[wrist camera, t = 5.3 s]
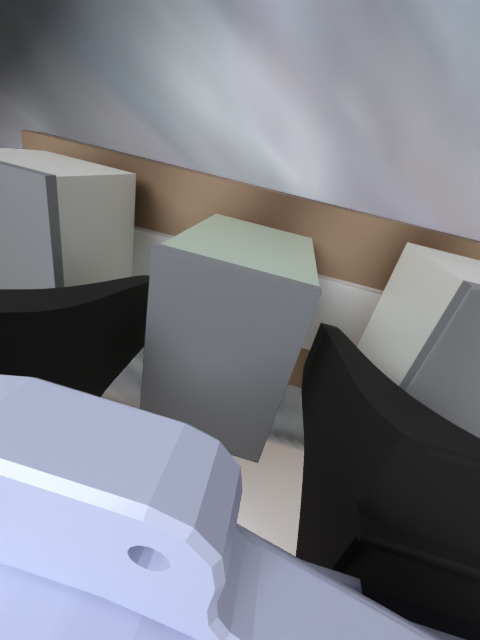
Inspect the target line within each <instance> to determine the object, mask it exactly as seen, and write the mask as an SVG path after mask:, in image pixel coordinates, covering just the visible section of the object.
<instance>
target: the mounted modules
mask: <svg viewBox="0 0 480 640" xmlns="http://www.w3.org/2000/svg"><path fill="white" fill-rule="evenodd" d="M135 190H136V174H135V173H131V172H127V171H124V170H120V169H116V168H112V167H108V166H104V165H100V164H96V163H92V162H88V161H84V160H80V159H76V158H72V157H68V156H64V155H60V154H56V153H52V152H48V151H43V150H28V149H13V148H0V289H47V288H61V287H70V286H78V285H85V284H91V283H98V282H104V281H110V280H115V279H120V278H126V277H132V263H133V239H134V214H135ZM357 348H358V349H359V350H360V351H361V352H362V353H363V354H364V355H365V356H366V357H367V358H368V359H369V360H370V361H371V362H372V363H373V364H374V365H375V366H376V367H377V368H378V369H379V370H381V371H382V372H383V373H384V374H385V375H386V376H387V377H388V378H389V379H391V380H392V381H393V382H394V383H396V384H397V385H398V386H399V387H401V388H402V389H403V390H404V391H406V392H407V393H408V394H410V395H411V396H412V397H414V398H415V399H416V400H418V401H419V402H421V403H422V404H424V405H425V406H427V407H428V408H430V409H431V410H433V411H434V412H436V413H437V414H439V415H440V416H442V417H444V418H445V419H447V420H449V421H450V422H452V423H453V424H455V425H457V426H459V427H460V428H462V429H464V430H466V431H468V432H469V433H471V434H473V435H475V436H476V437H478V438H480V260H476V259H472V258H468V257H464V256H460V255H456V254H452V253H448V252H444V251H440V250H436V249H432V248H428V247H424V246H421V245H417V244H413V243H409V242H407V244H406V246H405V248H404V250H403V252H402V254H401V256H400V258H399V260H398V262H397V264H396V266H395V269H394V271H393V273H392V275H391V277H390V279H389V281H388V283H387V285H386V287H385V289H384V291H383V293H382V296H381V298H380V300H379V302H378V304H377V306H376V308H375V310H374V312H373V314H372V316H371V318H370V321H369V323H368V325H367V327H366V329H365V331H364V333H363V335H362V337H361V339H360V341H359V343H358V345H357Z"/></svg>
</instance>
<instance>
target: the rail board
mask: <svg viewBox="0 0 480 640" xmlns="http://www.w3.org/2000/svg"><path fill="white" fill-rule="evenodd" d="M21 131H22V139H23V148H24V149H28V150H43V151H48V152H52V153H56V154H60V155H64V156H68V157H72V158H76V159H80V160H84V161H88V162H92V163H96V164H100V165H104V166H108V167H112V168H116V169H120V170H124V171H127V172H131V173H135V174H136V190H135V214H134V239H133V263H132V276H139V275H149V276H150V263H151V250H152V247H153V246H155V245H157V244H162V243H163V242H165V241H167V240H169V239H171V238H173V237H174V236H176V235H178V234H180V233H182V232H184V231H185V230H187V229H189V228H191V227H193V226H195V225H196V224H198V223H200V222H202V221H204V220H206V219H207V218H209V217H211V216H213V215H215V214H220V215H224V216H228V217H232V218H236V219H239V220H243V221H247V222H251V223H255V224H259V225H263V226H267V227H270V228H274V229H278V230H282V231H286V232H290V233H294V234H297V235H301V236H305V237H309V238H312V242H313V248H314V254H315V261H316V267H317V273H318V280H319V286H320V287H321V291H322V294H321V297H320V299H319V302H318V305H317V307H316V310H315V313H314V315H313V318H312V321H311V323H310V326H309V329H308V331H307V334H306V337H305V339H304V342H303V345H302V347H301V350H300V353H299V355H298V358H297V361H296V363H295V366H294V368H293V371H292V374H291V376H290V379H289V382H288V384H290V385H294V386H297V387H301V388H302V377H303V367H304V364H305V361H306V359H307V356H308V354H309V351H310V349H311V346H312V344H313V341H314V339H315V336H316V333H317V331H318V328H319V326H320V323H324V324H328V325H332V326H335V327H338V328H339V329H340V330H341V331H342V332H343V333H344V334H345V335H346V336H347V337H348V338H349V339H350V340H351V341H352V342H353V343H354V344H355V345H356V347H357V345H358V343H359V341H360V339H361V337H362V335H363V333H364V331H365V329H366V327H367V325H368V323H369V321H370V318H371V316H372V314H373V312H374V310H375V308H376V306H377V304H378V302H379V300H380V298H381V296H382V293H383V291H384V289H385V287H386V285H387V283H388V281H389V279H390V277H391V275H392V273H393V271H394V269H395V266H396V264H397V262H398V260H399V258H400V256H401V254H402V252H403V250H404V248H405V246H406V244H407V242H409V243H413V244H417V245H421V246H424V247H428V248H432V249H436V250H440V251H444V252H448V253H452V254H456V255H460V256H464V257H468V258H472V259H476V260H480V241H476V240H472V239H468V238H464V237H460V236H456V235H452V234H448V233H444V232H440V231H436V230H432V229H428V228H424V227H420V226H416V225H412V224H408V223H404V222H400V221H396V220H392V219H388V218H384V217H380V216H376V215H372V214H368V213H363V212H359V211H355V210H351V209H347V208H343V207H339V206H335V205H331V204H327V203H323V202H319V201H315V200H311V199H307V198H303V197H299V196H295V195H291V194H287V193H283V192H279V191H275V190H271V189H267V188H263V187H259V186H255V185H251V184H247V183H243V182H239V181H235V180H231V179H227V178H223V177H219V176H215V175H211V174H207V173H203V172H199V171H195V170H191V169H187V168H183V167H179V166H175V165H171V164H167V163H163V162H159V161H154V160H150V159H146V158H142V157H138V156H134V155H130V154H126V153H122V152H118V151H114V150H110V149H106V148H102V147H98V146H94V145H90V144H86V143H82V142H78V141H74V140H70V139H66V138H62V137H58V136H54V135H50V134H46V133H41V132H34V131H27V130H21Z"/></svg>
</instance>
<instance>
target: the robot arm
mask: <svg viewBox="0 0 480 640" xmlns="http://www.w3.org/2000/svg"><path fill="white" fill-rule="evenodd" d="M149 277H150V276H149V275H139V276H132V277H126V278H120V279H115V280H110V281H104V282H98V283H91V284H85V285H78V286H70V287H61V288H47V289H0V640H480V438H478V437H476V436H475V435H473V434H471V433H469V432H468V431H466V430H464V429H462V428H460V427H459V426H457V425H455V424H453V423H452V422H450V421H449V420H447V419H445V418H444V417H442V416H440V415H439V414H437V413H436V412H434V411H433V410H431V409H430V408H428V407H427V406H425V405H424V404H422V403H421V402H419V401H418V400H416V399H415V398H414V397H412V396H411V395H410V394H408V393H407V392H406V391H404V390H403V389H402V388H401V387H399V386H398V385H397V384H396V383H394V382H393V381H392V380H391V379H389V378H388V377H387V376H386V375H385V374H384V373H383V372H382V371H381V370H379V369H378V368H377V367H376V366H375V365H374V364H373V363H372V362H371V361H370V360H369V359H368V358H367V357H366V356H365V355H364V354H363V353H362V352H361V351H360V350H359V349H358V348H357V347H356V345H355V344H354V343H353V342H352V341H351V340H350V339H349V338H348V337H347V336H346V335H345V334H344V333H343V332H342V331H341V330H340V329H339V328H338V327H335V326H332V325H328V324H324V323H320V326H319V328H318V331H317V333H316V336H315V339H314V341H313V344H312V346H311V349H310V351H309V354H308V356H307V359H306V361H305V364H304V367H303V377H302V408H303V426H304V467H303V483H302V497H301V509H300V520H299V530H298V541H297V551H296V557H295V556H293V555H292V554H290V553H288V552H286V551H284V550H283V549H281V548H279V547H278V546H276V545H274V544H272V543H270V542H269V541H267V540H265V539H263V538H261V537H260V536H258V535H256V534H255V533H253V532H251V531H249V530H248V529H246V528H244V527H242V526H240V525H239V524H237V517H238V512H239V506H240V501H241V495H242V481H241V480H242V479H241V467H240V465H239V464H238V463H237V462H236V460H235V459H234V458H233V457H232V455H231V454H230V453H229V452H228V451H227V449H226V448H225V447H224V446H223V444H222V443H221V442H220V441H219V440H218V439H217V438H215V437H213V436H211V435H209V434H207V433H205V432H203V431H201V430H199V429H198V428H196V427H194V426H192V425H190V424H188V423H185V422H182V421H179V420H175V419H172V418H169V417H165V416H162V415H159V414H155V413H152V412H149V411H145V410H142V409H139V408H135V407H132V406H129V405H125V404H122V403H119V402H115V401H112V400H109V399H106V398H102V397H101V396H102V394H103V393H104V392H105V390H106V389H107V388H108V387H109V385H110V384H111V383H112V382H113V381H114V379H115V378H116V377H117V376H118V375H119V374H120V373H121V372H122V371H123V369H124V368H125V367H126V366H127V365H128V364H129V363H130V362H131V360H132V359H133V358H134V357H135V356H136V355H137V354H138V353H139V351H140V350H141V349H142V348H143V347H144V346H145V332H146V318H147V305H148V291H149Z"/></svg>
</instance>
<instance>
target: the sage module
mask: <svg viewBox="0 0 480 640" xmlns="http://www.w3.org/2000/svg"><path fill="white" fill-rule="evenodd" d="M321 294H322V291H321V287H320V286H319V280H318V273H317V267H316V261H315V254H314V248H313V242H312V238H309V237H305V236H301V235H297V234H294V233H290V232H286V231H282V230H278V229H274V228H270V227H267V226H263V225H259V224H255V223H251V222H247V221H243V220H239V219H236V218H232V217H228V216H224V215H220V214H215V215H213V216H211V217H209V218H207V219H206V220H204V221H202V222H200V223H198V224H196V225H195V226H193V227H191V228H189V229H187V230H185V231H184V232H182V233H180V234H178V235H176V236H174V237H173V238H171V239H169V240H167V241H165V242H163V243H162V244H157V245H155V246H153V247H152V250H151V263H150V277H149V291H148V305H147V318H146V332H145V346H144V360H143V373H142V387H141V401H140V409H142V410H145V411H149V412H152V413H155V414H159V415H162V416H165V417H169V418H172V419H175V420H179V421H182V422H185V423H188V424H190V425H192V426H194V427H196V428H198V429H199V430H201V431H203V432H205V433H207V434H209V435H211V436H213V437H215V438H217V439H218V440H219V441H220V442H221V443H222V444H223V446H224V447H225V448H226V449H227V451H228V452H229V453H230V454H231V455H233V456H237V457H240V458H243V459H246V460H250V461H253V462H257V463H258V461H259V459H260V456H261V453H262V451H263V448H264V445H265V443H266V440H267V437H268V435H269V432H270V430H271V427H272V424H273V422H274V419H275V416H276V414H277V411H278V408H279V406H280V403H281V400H282V398H283V395H284V392H285V390H286V387H287V384H288V382H289V379H290V376H291V374H292V371H293V368H294V366H295V363H296V361H297V358H298V355H299V353H300V350H301V347H302V345H303V342H304V339H305V337H306V334H307V331H308V329H309V326H310V323H311V321H312V318H313V315H314V313H315V310H316V307H317V305H318V302H319V299H320V297H321Z"/></svg>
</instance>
